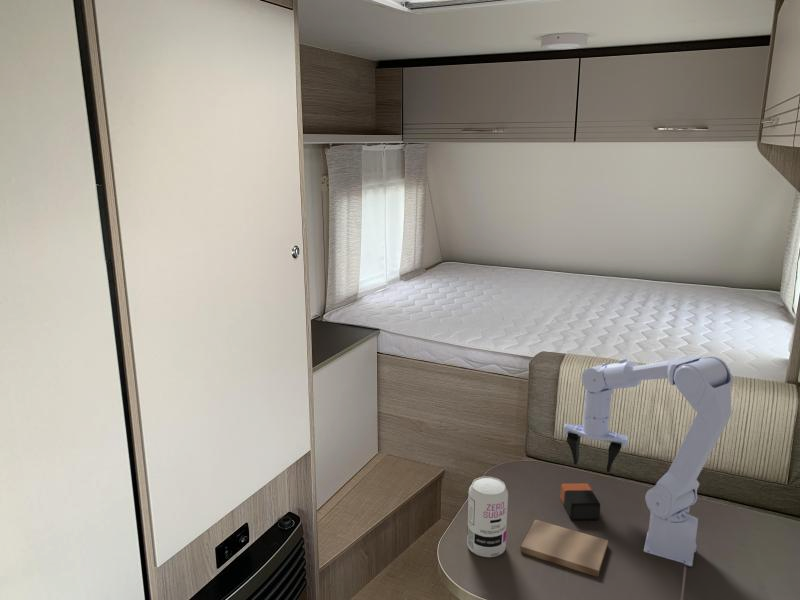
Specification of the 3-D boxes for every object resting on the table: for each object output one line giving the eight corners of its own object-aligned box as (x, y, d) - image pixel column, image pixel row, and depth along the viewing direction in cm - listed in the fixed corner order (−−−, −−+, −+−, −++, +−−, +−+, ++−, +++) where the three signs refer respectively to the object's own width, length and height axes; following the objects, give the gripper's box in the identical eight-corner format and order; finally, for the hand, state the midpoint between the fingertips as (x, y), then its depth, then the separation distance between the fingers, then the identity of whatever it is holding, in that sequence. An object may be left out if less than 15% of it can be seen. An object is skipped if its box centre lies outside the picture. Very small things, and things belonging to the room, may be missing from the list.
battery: (601, 503, 136) (587, 480, 146) (571, 503, 136) (559, 480, 146) (599, 520, 137) (585, 496, 147) (570, 520, 137) (558, 496, 147)
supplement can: (482, 531, 133) (484, 471, 129) (513, 548, 127) (516, 485, 124) (459, 547, 127) (461, 484, 124) (490, 565, 122) (492, 500, 118)
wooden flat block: (607, 546, 128) (608, 540, 127) (598, 577, 118) (598, 570, 118) (534, 525, 135) (535, 519, 135) (520, 552, 126) (520, 546, 125)
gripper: (631, 414, 139) (626, 466, 143) (569, 402, 146) (565, 452, 149) (627, 425, 133) (621, 479, 137) (562, 412, 140) (559, 464, 143)
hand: (592, 466), depth 142 cm, fingers open, 7 cm apart
